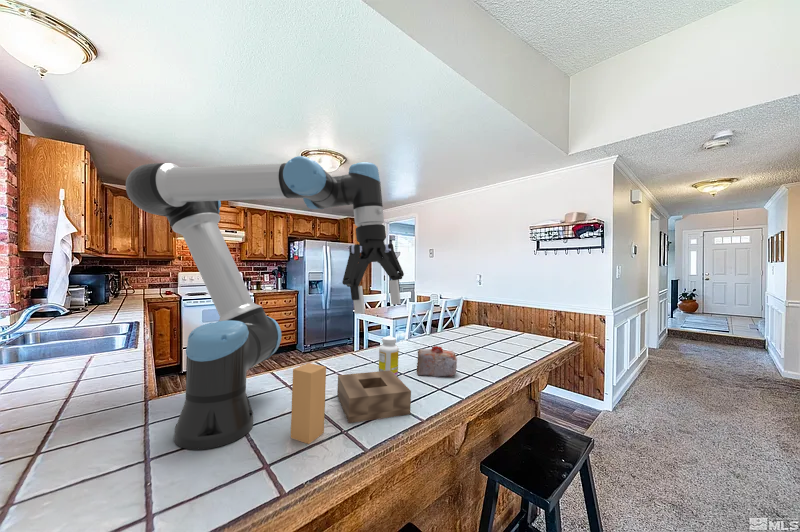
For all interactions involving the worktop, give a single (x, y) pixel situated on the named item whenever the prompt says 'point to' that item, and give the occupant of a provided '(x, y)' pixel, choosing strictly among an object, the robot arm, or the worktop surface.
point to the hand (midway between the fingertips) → (379, 308)
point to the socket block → (373, 396)
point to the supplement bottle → (388, 355)
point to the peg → (308, 402)
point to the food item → (436, 362)
